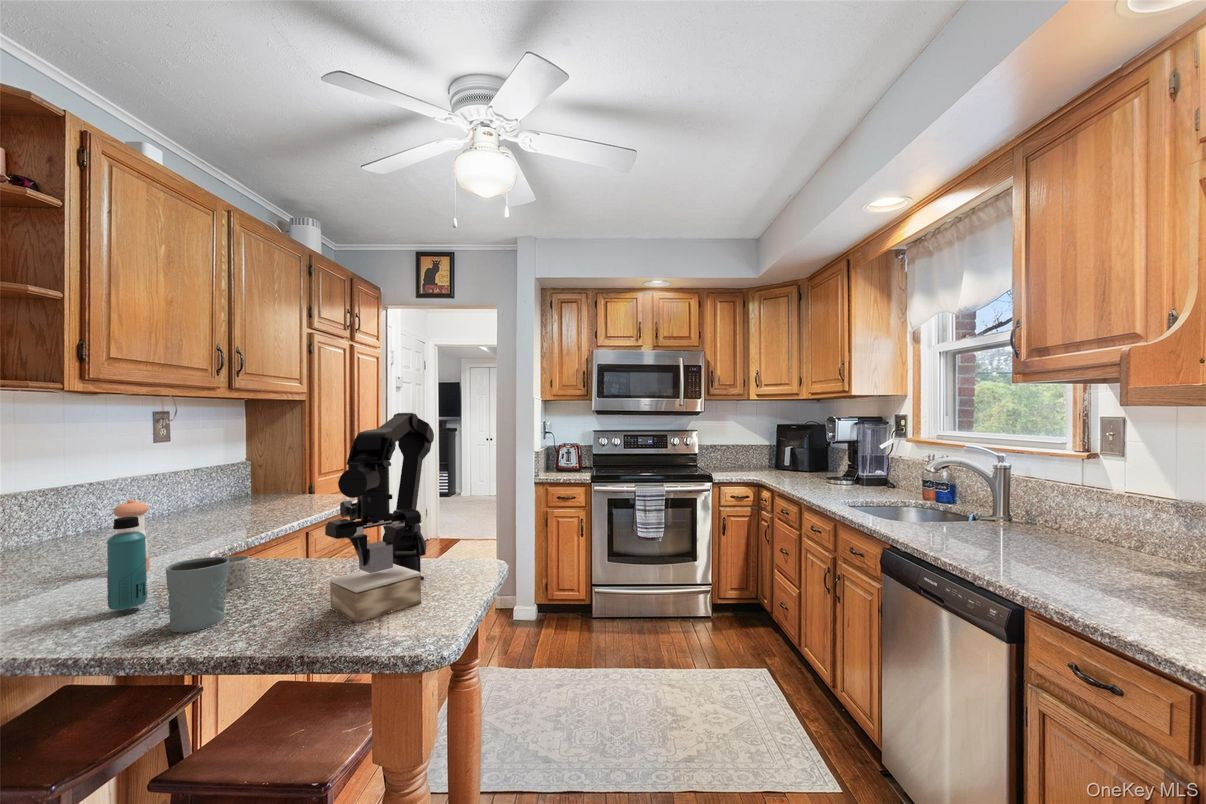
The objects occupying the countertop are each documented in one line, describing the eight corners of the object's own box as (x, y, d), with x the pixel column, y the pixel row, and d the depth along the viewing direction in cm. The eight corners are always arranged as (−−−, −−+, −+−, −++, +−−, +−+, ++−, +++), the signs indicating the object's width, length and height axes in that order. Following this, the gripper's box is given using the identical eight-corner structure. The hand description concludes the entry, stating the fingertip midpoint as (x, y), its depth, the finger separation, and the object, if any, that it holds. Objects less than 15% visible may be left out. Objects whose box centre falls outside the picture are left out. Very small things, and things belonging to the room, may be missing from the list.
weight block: (381, 563, 120) (381, 540, 120) (392, 567, 116) (392, 544, 116) (359, 568, 116) (358, 545, 116) (370, 573, 113) (369, 549, 113)
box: (393, 591, 125) (392, 566, 125) (420, 602, 117) (420, 577, 117) (330, 608, 115) (330, 582, 115) (356, 623, 107) (356, 594, 107)
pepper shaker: (149, 572, 143) (148, 499, 143) (112, 578, 138) (111, 503, 139) (149, 566, 149) (148, 496, 149) (113, 571, 144) (113, 499, 144)
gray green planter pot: (152, 633, 103) (151, 570, 103) (194, 613, 113) (194, 556, 113) (203, 634, 103) (202, 570, 103) (241, 613, 113) (241, 556, 113)
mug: (234, 581, 134) (233, 554, 134) (256, 583, 133) (256, 556, 133) (196, 595, 124) (195, 566, 124) (220, 597, 123) (219, 568, 123)
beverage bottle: (138, 615, 113) (137, 519, 113) (99, 619, 111) (98, 521, 111) (154, 604, 119) (153, 513, 119) (117, 607, 117) (116, 515, 117)
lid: (392, 566, 125) (392, 563, 125) (420, 575, 117) (420, 572, 117) (330, 581, 115) (330, 578, 115) (356, 592, 107) (356, 589, 107)
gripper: (396, 481, 129) (397, 547, 128) (313, 492, 114) (314, 566, 114) (422, 485, 121) (423, 555, 121) (336, 497, 107) (337, 576, 107)
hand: (375, 562), depth 116 cm, fingers closed on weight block, 5 cm apart
